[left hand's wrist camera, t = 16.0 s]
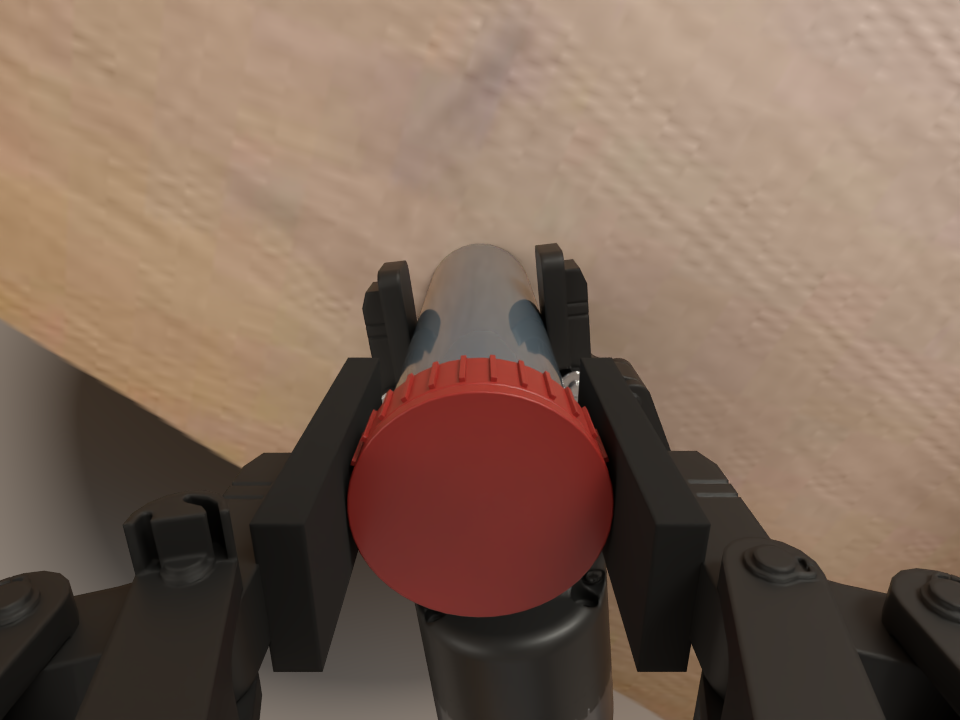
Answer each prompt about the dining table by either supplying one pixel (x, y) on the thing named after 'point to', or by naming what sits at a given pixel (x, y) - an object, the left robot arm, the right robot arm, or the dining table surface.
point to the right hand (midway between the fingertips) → (469, 259)
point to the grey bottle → (480, 314)
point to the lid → (480, 488)
